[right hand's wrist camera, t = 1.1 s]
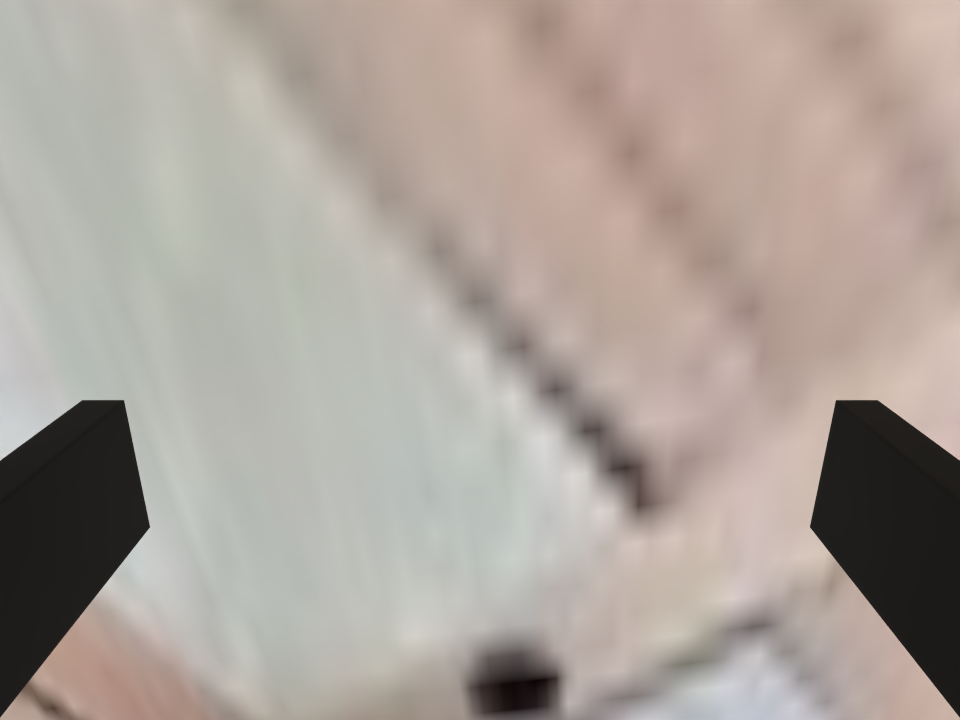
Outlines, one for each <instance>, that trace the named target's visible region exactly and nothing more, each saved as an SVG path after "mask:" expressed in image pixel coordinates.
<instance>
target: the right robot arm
mask: <svg viewBox="0 0 960 720" xmlns="http://www.w3.org/2000/svg"><path fill="white" fill-rule="evenodd" d="M149 528H150V525H149V520H148V515H147V510H146V505H145V501H144V496H143V491H142V486H141V481H140V476H139V471H138V466H137V462H136V457H135V452H134V447H133V442H132V437H131V432H130V428H129V423H128V418H127V413H126V408H125V403H124V400H82V401H81V402H79V403H78V404H77V405H75V406H74V407H73V408H71V409H70V410H69V411H67V412H66V413H64V414H63V415H62V416H60V417H59V418H58V419H56V420H55V421H54V422H52V423H51V424H50V425H48V426H47V427H45V428H44V429H43V430H41V431H40V432H39V433H37V434H36V435H35V436H33V437H32V438H31V439H29V440H28V441H26V442H25V443H24V444H22V445H21V446H20V447H18V448H17V449H16V450H14V451H13V452H11V453H10V454H9V455H7V456H6V457H5V458H3V459H2V460H1V461H0V717H1V716H2V714H3V713H4V712H5V711H6V709H7V708H8V707H9V706H10V704H11V703H12V702H13V701H14V699H15V698H16V697H17V695H18V694H19V693H20V692H21V690H22V689H23V688H24V687H25V685H26V684H27V683H28V681H29V680H30V679H31V678H32V676H33V675H34V674H35V673H36V671H37V670H38V669H39V667H40V666H41V665H42V664H43V662H44V661H45V660H46V659H47V657H48V656H49V655H50V654H51V652H52V651H53V650H54V648H55V647H56V646H57V645H58V643H59V642H60V641H61V640H62V638H63V637H64V636H65V634H66V633H67V632H68V631H69V629H70V628H71V627H72V626H73V624H74V623H75V622H76V620H77V619H78V618H79V617H80V615H81V614H82V613H83V612H84V610H85V609H86V608H87V606H88V605H89V604H90V603H91V601H92V600H93V599H94V598H95V596H96V595H97V594H98V593H99V591H100V590H101V589H102V587H103V586H104V585H105V584H106V582H107V581H108V580H109V579H110V577H111V576H112V575H113V573H114V572H115V571H116V570H117V568H118V567H119V566H120V565H121V563H122V562H123V561H124V559H125V558H126V557H127V556H128V554H129V553H130V552H131V551H132V549H133V548H134V547H135V546H136V544H137V543H138V542H139V540H140V539H141V538H142V537H143V535H144V534H145V533H146V532H147V530H148V529H149ZM810 528H811V529H812V530H813V532H814V533H815V534H816V535H817V537H818V538H819V539H820V540H821V542H822V543H823V544H824V546H825V547H826V548H827V549H828V551H829V552H830V553H831V554H832V556H833V557H834V558H835V559H836V561H837V562H838V563H839V565H840V566H841V567H842V568H843V570H844V571H845V572H846V573H847V575H848V576H849V577H850V579H851V580H852V581H853V582H854V584H855V585H856V586H857V587H858V589H859V590H860V591H861V593H862V594H863V595H864V596H865V598H866V599H867V600H868V601H869V603H870V604H871V605H872V606H873V608H874V609H875V610H876V612H877V613H878V614H879V615H880V617H881V618H882V619H883V620H884V622H885V623H886V624H887V626H888V627H889V628H890V629H891V631H892V632H893V633H894V634H895V636H896V637H897V638H898V640H899V641H900V642H901V643H902V645H903V646H904V647H905V648H906V650H907V651H908V652H909V654H910V655H911V656H912V657H913V659H914V660H915V661H916V662H917V664H918V665H919V666H920V667H921V669H922V670H923V671H924V673H925V674H926V675H927V676H928V678H929V679H930V680H931V681H932V683H933V684H934V685H935V687H936V688H937V689H938V690H939V692H940V693H941V694H942V695H943V697H944V698H945V699H946V701H947V702H948V703H949V704H950V706H951V707H952V708H953V709H954V711H955V712H956V713H957V714H958V716H959V717H960V461H959V460H958V459H957V458H955V457H954V456H953V455H951V454H950V453H949V452H947V451H946V450H944V449H943V448H942V447H940V446H939V445H938V444H936V443H935V442H934V441H932V440H931V439H930V438H928V437H927V436H925V435H924V434H923V433H921V432H920V431H919V430H917V429H916V428H915V427H913V426H912V425H910V424H909V423H908V422H906V421H905V420H904V419H902V418H901V417H900V416H898V415H897V414H896V413H894V412H893V411H891V410H890V409H889V408H887V407H886V406H885V405H883V404H882V403H881V402H879V401H878V400H836V403H835V408H834V413H833V418H832V423H831V428H830V432H829V437H828V442H827V447H826V452H825V457H824V462H823V466H822V471H821V476H820V481H819V486H818V491H817V496H816V501H815V505H814V510H813V515H812V520H811V525H810Z"/></svg>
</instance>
